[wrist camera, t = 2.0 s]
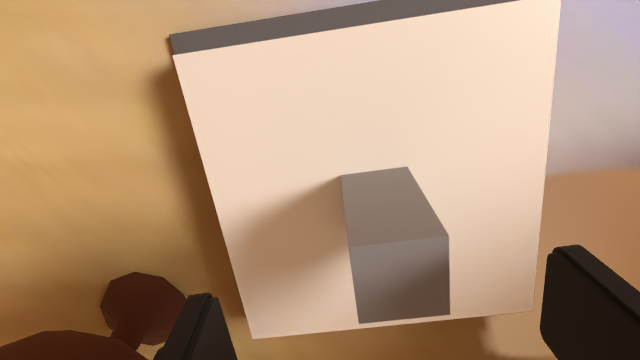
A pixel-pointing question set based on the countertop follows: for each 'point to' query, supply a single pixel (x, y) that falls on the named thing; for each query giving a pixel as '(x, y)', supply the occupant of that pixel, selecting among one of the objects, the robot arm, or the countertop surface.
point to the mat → (316, 22)
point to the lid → (380, 166)
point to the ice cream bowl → (111, 324)
